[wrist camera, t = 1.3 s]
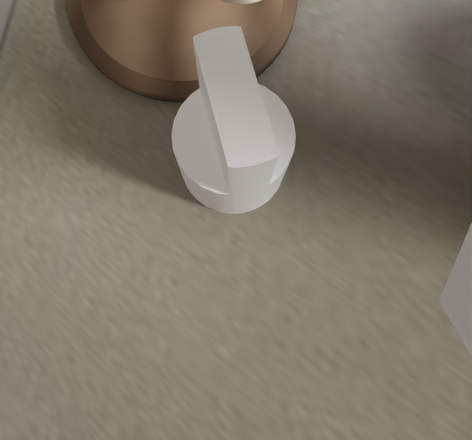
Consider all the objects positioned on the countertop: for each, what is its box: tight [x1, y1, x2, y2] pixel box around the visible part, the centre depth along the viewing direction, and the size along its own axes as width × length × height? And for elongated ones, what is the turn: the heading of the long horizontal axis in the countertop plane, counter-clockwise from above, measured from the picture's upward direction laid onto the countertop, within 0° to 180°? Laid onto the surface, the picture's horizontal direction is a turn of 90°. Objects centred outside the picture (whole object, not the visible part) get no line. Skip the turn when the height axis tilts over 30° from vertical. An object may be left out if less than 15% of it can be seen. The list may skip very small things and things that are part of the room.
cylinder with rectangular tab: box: [171, 26, 296, 214], centre depth 30 cm, size 9×9×12 cm
